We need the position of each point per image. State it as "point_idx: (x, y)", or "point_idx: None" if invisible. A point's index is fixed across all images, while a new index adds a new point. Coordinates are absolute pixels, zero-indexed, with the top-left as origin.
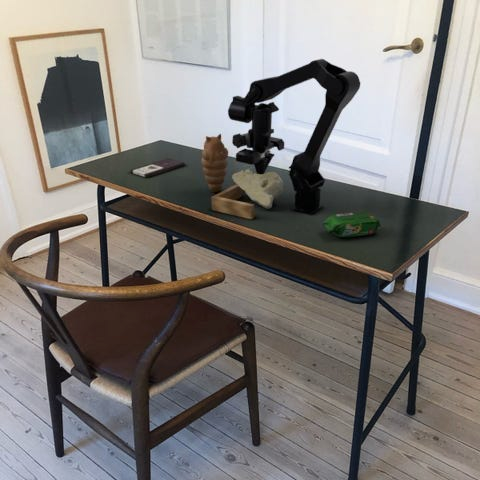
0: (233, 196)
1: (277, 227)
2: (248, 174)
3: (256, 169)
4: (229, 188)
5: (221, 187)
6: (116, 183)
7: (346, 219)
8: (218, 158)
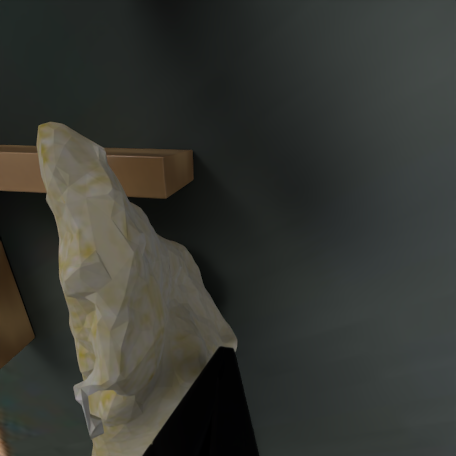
0: None
1: (38, 410)
2: (81, 346)
3: (165, 432)
4: (26, 164)
5: None
6: None
7: None
8: None
